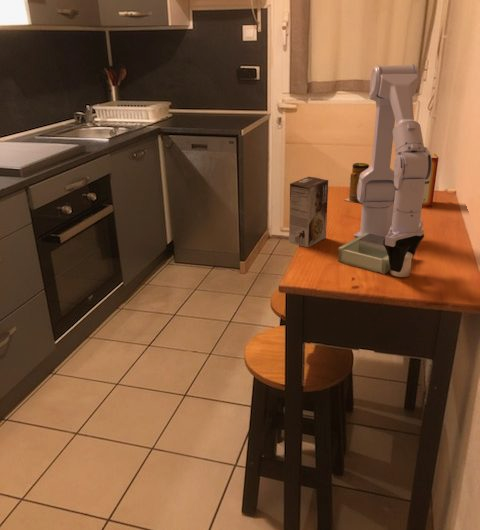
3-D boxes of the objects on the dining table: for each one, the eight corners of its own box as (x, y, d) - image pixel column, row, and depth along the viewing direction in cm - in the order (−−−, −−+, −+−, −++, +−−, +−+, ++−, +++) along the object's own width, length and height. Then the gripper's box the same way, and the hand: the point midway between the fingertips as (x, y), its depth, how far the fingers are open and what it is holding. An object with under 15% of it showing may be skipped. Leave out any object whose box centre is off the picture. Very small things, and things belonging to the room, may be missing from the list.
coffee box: (306, 233, 141) (308, 176, 134) (326, 238, 137) (329, 179, 131) (287, 242, 134) (288, 182, 128) (308, 248, 131) (310, 186, 124)
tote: (364, 245, 131) (365, 232, 130) (410, 257, 124) (411, 243, 122) (337, 261, 122) (338, 247, 120) (384, 274, 114) (386, 260, 113)
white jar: (394, 267, 117) (396, 249, 115) (414, 272, 114) (416, 253, 112) (385, 273, 114) (387, 255, 112) (405, 279, 111) (407, 260, 109)
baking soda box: (428, 201, 167) (435, 152, 161) (431, 207, 161) (438, 156, 155) (399, 200, 169) (404, 152, 163) (400, 206, 163) (406, 156, 157)
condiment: (354, 195, 175) (357, 161, 170) (377, 200, 170) (380, 164, 165) (343, 200, 170) (345, 164, 165) (366, 204, 165) (369, 168, 160)
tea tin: (367, 252, 126) (369, 233, 124) (396, 259, 121) (398, 240, 119) (357, 258, 122) (359, 238, 120) (386, 266, 118) (388, 245, 116)
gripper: (410, 220, 101) (403, 282, 106) (439, 204, 111) (431, 261, 116) (378, 214, 105) (372, 274, 110) (408, 198, 115) (401, 254, 120)
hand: (400, 267), depth 113 cm, fingers closed on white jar, 4 cm apart
